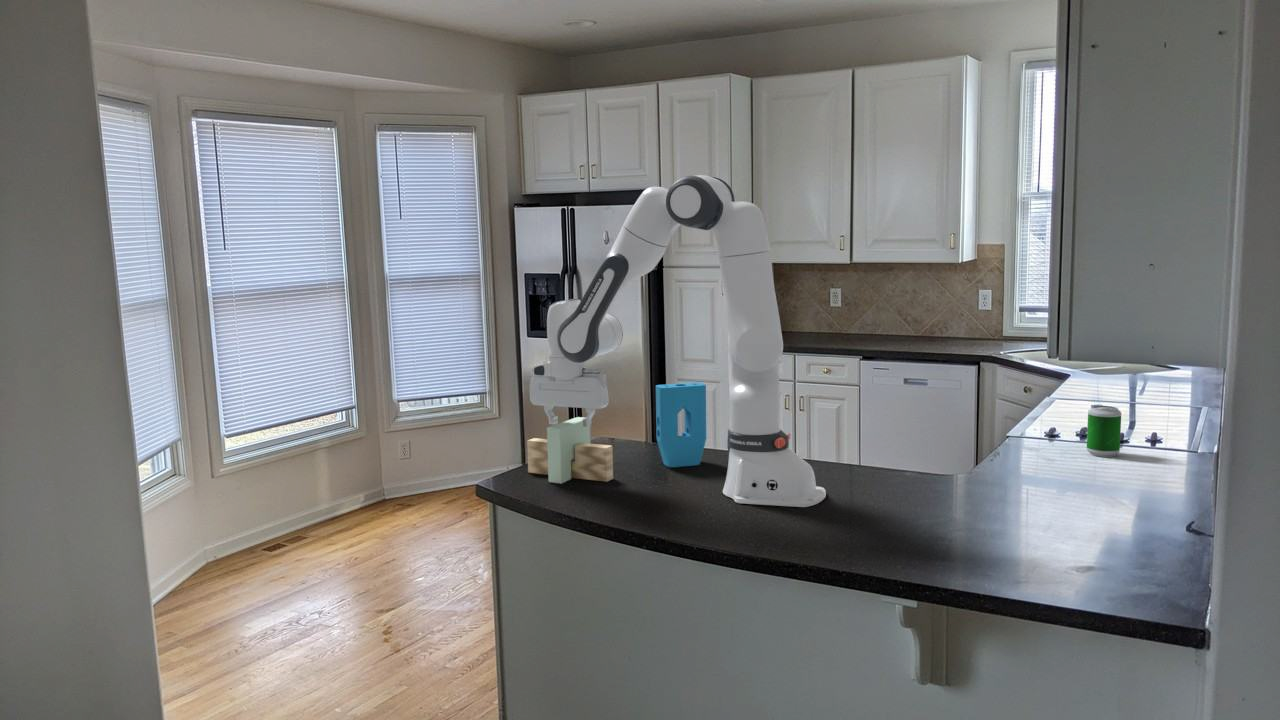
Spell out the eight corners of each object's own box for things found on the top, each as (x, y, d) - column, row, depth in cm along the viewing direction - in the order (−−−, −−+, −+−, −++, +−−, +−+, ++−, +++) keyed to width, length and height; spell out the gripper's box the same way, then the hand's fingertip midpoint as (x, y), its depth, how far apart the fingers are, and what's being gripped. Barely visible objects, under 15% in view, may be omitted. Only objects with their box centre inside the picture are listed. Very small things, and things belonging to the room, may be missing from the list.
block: (662, 468, 235) (660, 388, 232) (655, 463, 239) (654, 385, 237) (707, 464, 238) (707, 385, 235) (700, 459, 243) (700, 382, 240)
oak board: (613, 478, 226) (612, 445, 224) (606, 481, 223) (606, 448, 222) (534, 469, 235) (533, 438, 234) (528, 472, 233) (527, 440, 232)
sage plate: (591, 469, 234) (589, 417, 233) (561, 483, 222) (559, 428, 220) (578, 468, 236) (577, 416, 234) (548, 482, 224) (546, 427, 222)
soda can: (1123, 458, 236) (1125, 410, 234) (1090, 457, 238) (1092, 410, 236) (1114, 451, 243) (1116, 405, 242) (1082, 450, 245) (1085, 404, 243)
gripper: (612, 367, 224) (614, 425, 226) (539, 364, 233) (541, 420, 235) (599, 371, 218) (601, 430, 220) (524, 368, 227) (527, 425, 229)
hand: (570, 425), depth 227 cm, fingers open, 8 cm apart
